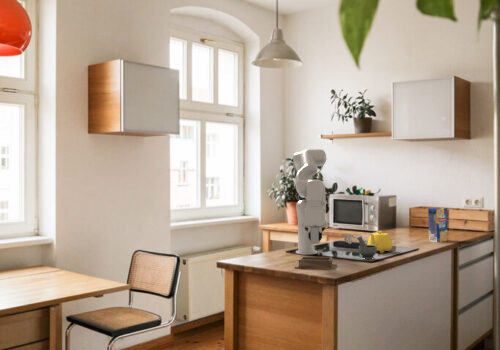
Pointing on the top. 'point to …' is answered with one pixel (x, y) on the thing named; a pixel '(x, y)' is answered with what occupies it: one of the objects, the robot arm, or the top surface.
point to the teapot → (380, 241)
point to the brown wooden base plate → (315, 263)
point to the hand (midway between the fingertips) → (315, 239)
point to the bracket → (352, 237)
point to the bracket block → (315, 235)
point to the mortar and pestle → (366, 249)
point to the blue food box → (437, 224)
